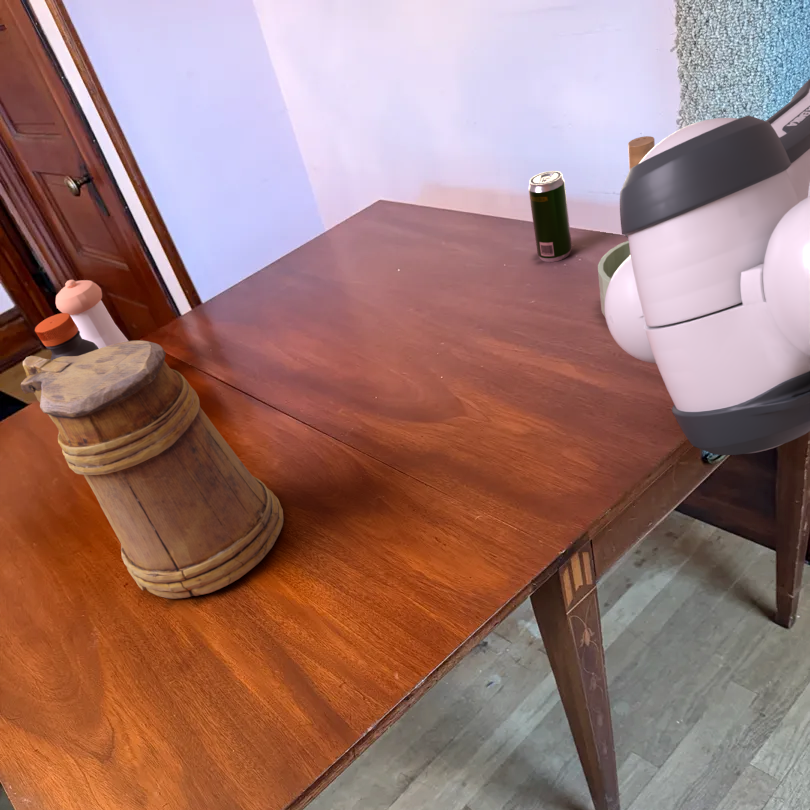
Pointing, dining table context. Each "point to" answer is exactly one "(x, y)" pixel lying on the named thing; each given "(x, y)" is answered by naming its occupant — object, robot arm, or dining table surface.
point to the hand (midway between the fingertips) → (637, 208)
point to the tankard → (156, 468)
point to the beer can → (550, 216)
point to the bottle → (63, 337)
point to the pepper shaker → (89, 312)
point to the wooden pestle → (639, 149)
